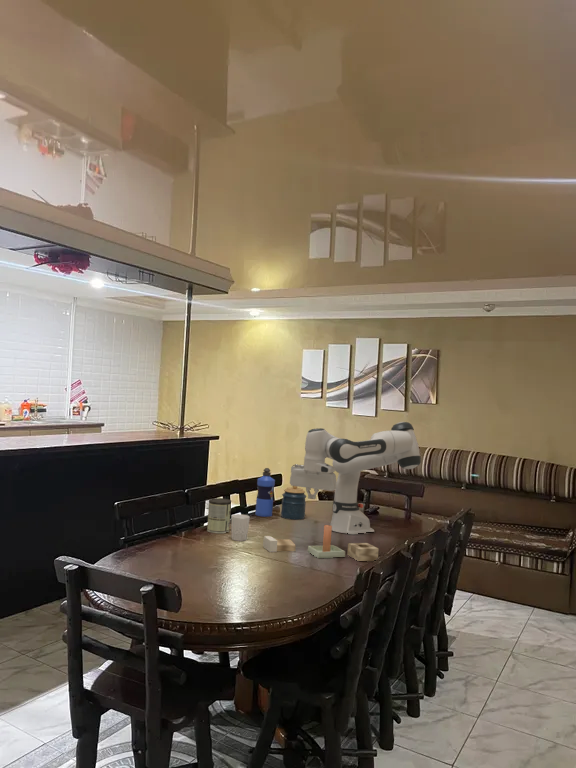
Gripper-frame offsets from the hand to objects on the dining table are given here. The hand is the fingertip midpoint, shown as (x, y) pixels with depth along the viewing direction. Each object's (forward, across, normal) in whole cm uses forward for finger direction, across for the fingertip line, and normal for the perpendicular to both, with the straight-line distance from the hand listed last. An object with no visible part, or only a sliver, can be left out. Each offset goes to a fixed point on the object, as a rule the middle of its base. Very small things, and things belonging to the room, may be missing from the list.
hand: (311, 498), depth 247 cm
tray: (+21, +10, -6) cm, 24 cm away
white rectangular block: (+21, -12, -13) cm, 27 cm away
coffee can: (+21, -45, +2) cm, 50 cm away
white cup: (+21, -30, -6) cm, 37 cm away
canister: (+21, -30, +56) cm, 67 cm away
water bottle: (+21, -45, +51) cm, 71 cm away
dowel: (+20, +10, -6) cm, 23 cm away
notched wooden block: (+21, -8, -8) cm, 24 cm away
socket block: (+21, +24, -2) cm, 32 cm away
